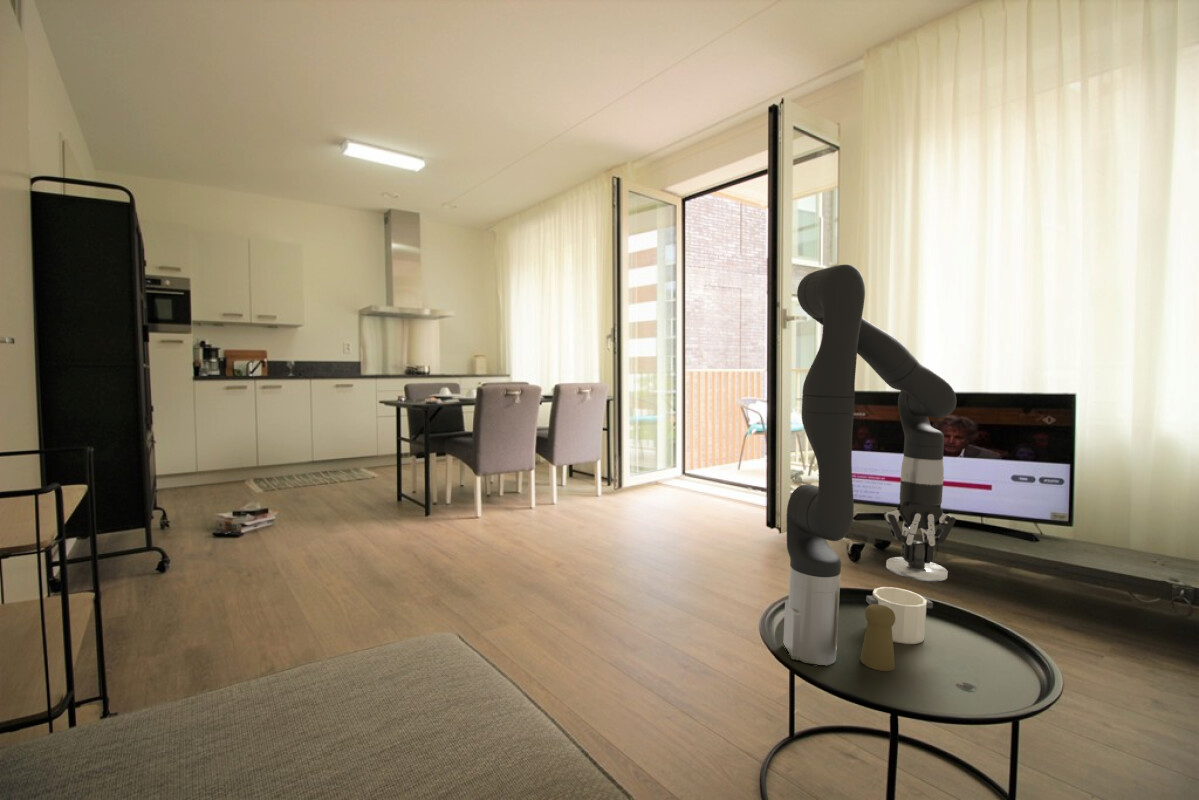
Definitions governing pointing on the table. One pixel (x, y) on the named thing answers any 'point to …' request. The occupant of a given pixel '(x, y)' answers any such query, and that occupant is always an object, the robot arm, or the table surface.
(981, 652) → the table surface
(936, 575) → the lid
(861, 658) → the cork
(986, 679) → the table surface
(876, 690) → the table surface
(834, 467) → the robot arm
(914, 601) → the pot
